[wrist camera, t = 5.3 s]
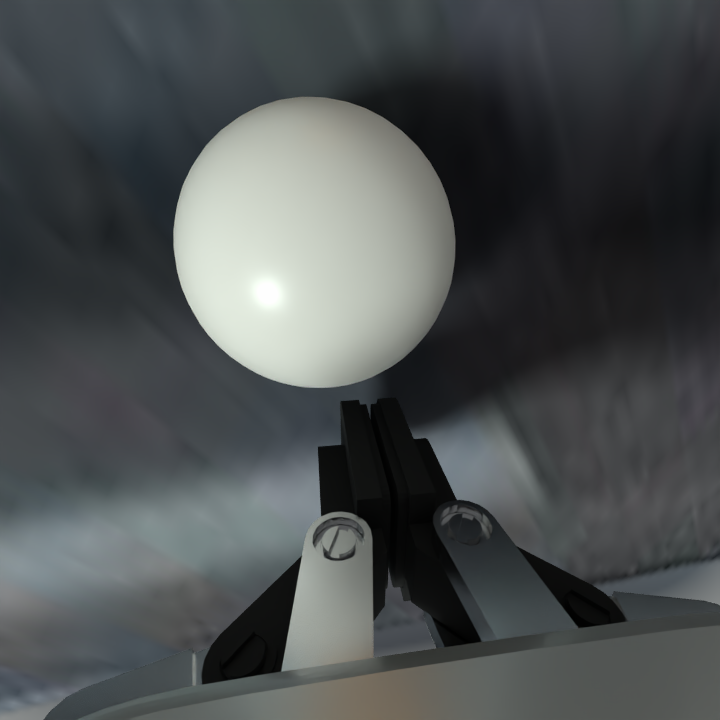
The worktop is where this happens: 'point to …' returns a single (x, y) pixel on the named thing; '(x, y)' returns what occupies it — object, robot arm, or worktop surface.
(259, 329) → the cue ball
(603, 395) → the worktop surface
